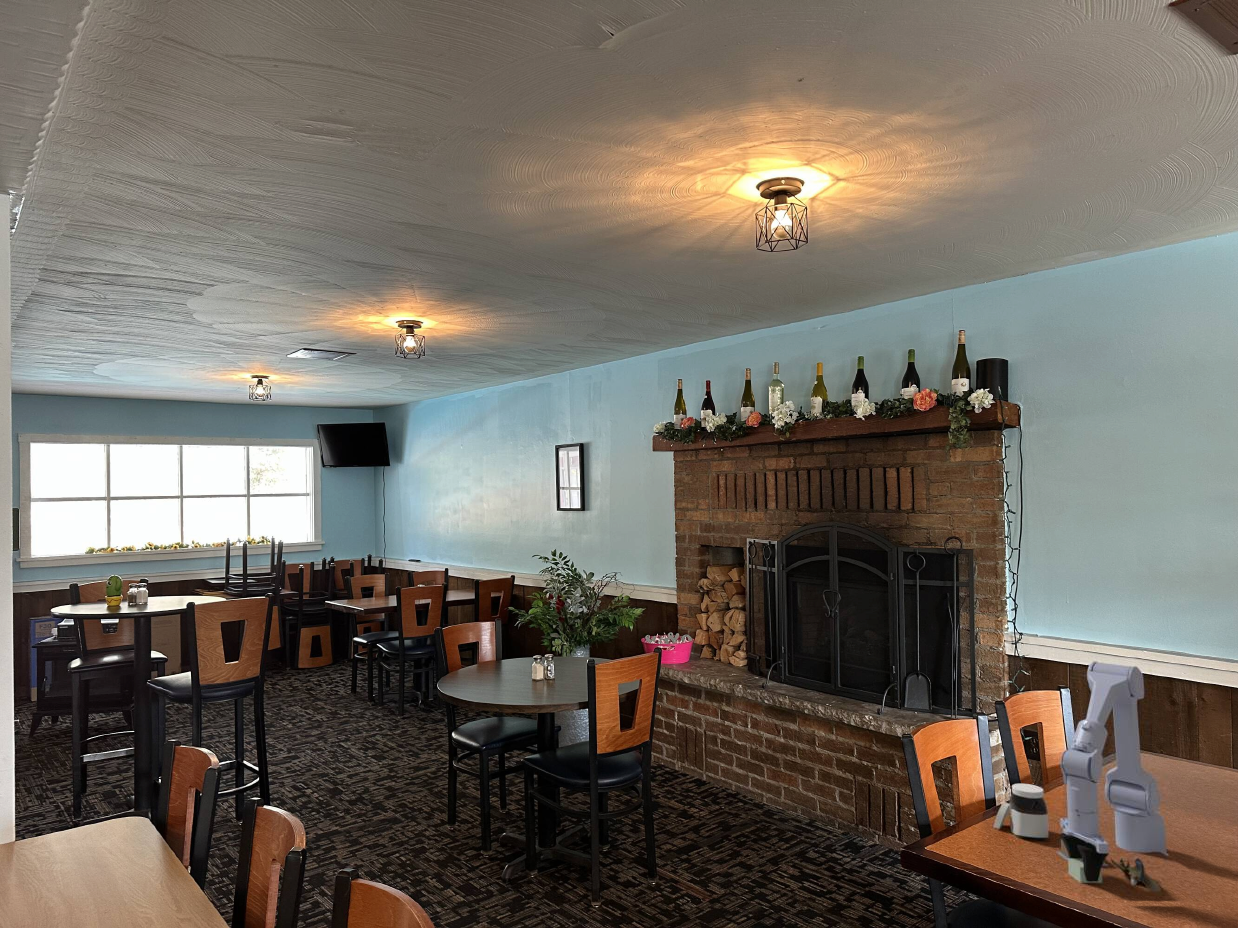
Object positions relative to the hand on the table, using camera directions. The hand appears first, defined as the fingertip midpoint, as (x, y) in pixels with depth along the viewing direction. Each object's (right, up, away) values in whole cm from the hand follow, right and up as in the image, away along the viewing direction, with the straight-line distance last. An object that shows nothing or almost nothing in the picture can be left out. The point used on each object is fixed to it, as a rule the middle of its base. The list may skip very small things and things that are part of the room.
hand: (1085, 875), depth 172 cm
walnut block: (+5, -1, +10) cm, 11 cm away
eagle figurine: (+10, -2, -3) cm, 10 cm away
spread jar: (-1, -4, +26) cm, 26 cm away
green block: (0, -1, 0) cm, 1 cm away
